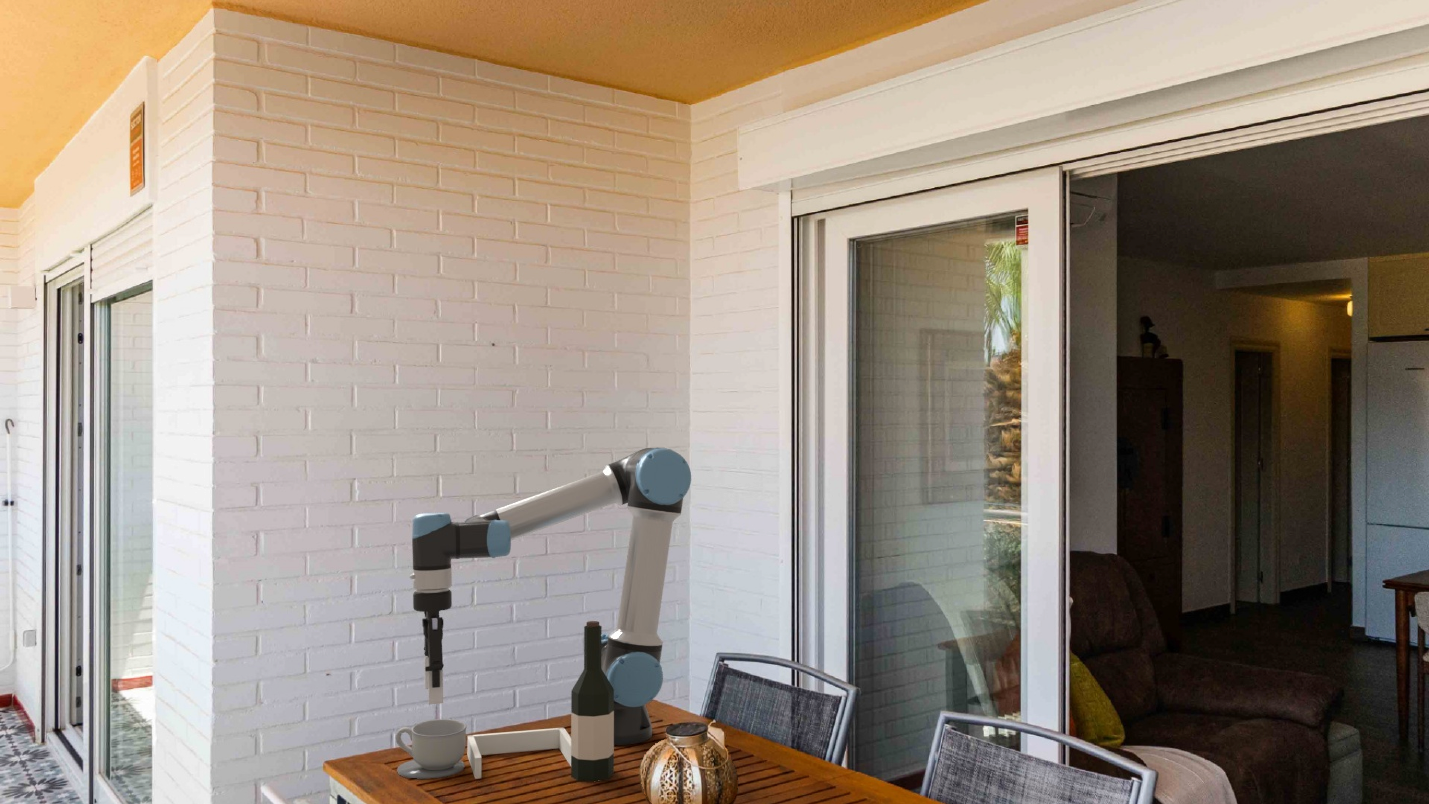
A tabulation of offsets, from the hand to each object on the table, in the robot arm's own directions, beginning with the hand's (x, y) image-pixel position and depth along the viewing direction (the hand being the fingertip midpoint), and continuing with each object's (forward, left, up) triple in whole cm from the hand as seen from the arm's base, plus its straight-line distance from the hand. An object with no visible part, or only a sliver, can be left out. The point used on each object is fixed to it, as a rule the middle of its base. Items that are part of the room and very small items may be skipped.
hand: (433, 696), depth 218 cm
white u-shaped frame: (-18, +1, -15) cm, 23 cm away
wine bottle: (-30, +14, -15) cm, 36 cm away
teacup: (0, -1, -14) cm, 14 cm away
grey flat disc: (0, 0, -15) cm, 15 cm away
